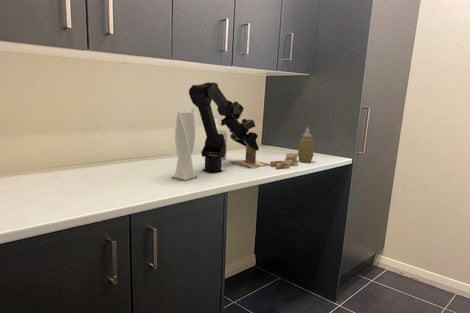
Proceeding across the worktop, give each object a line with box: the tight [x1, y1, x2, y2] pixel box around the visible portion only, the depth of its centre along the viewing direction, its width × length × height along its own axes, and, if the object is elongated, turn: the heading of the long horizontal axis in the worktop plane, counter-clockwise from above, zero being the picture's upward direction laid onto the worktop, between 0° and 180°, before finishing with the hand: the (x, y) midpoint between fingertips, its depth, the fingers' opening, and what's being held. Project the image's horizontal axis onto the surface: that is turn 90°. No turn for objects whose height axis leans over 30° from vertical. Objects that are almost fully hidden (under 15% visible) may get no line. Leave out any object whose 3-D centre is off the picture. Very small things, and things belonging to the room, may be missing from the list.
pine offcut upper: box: [285, 152, 298, 161], centre depth 164 cm, size 4×4×3 cm
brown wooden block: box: [244, 145, 257, 164], centre depth 162 cm, size 4×3×10 cm
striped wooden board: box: [229, 159, 270, 169], centre depth 163 cm, size 14×14×1 cm
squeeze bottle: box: [297, 127, 314, 164], centre depth 174 cm, size 8×8×18 cm
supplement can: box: [210, 128, 228, 161], centre depth 172 cm, size 8×8×15 cm
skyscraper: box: [171, 105, 198, 182], centre depth 127 cm, size 8×8×28 cm
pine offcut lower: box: [283, 158, 300, 167], centre depth 165 cm, size 5×5×3 cm
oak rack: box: [269, 160, 291, 170], centre depth 158 cm, size 7×6×2 cm
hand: (253, 148), depth 163 cm, fingers open, 9 cm apart
